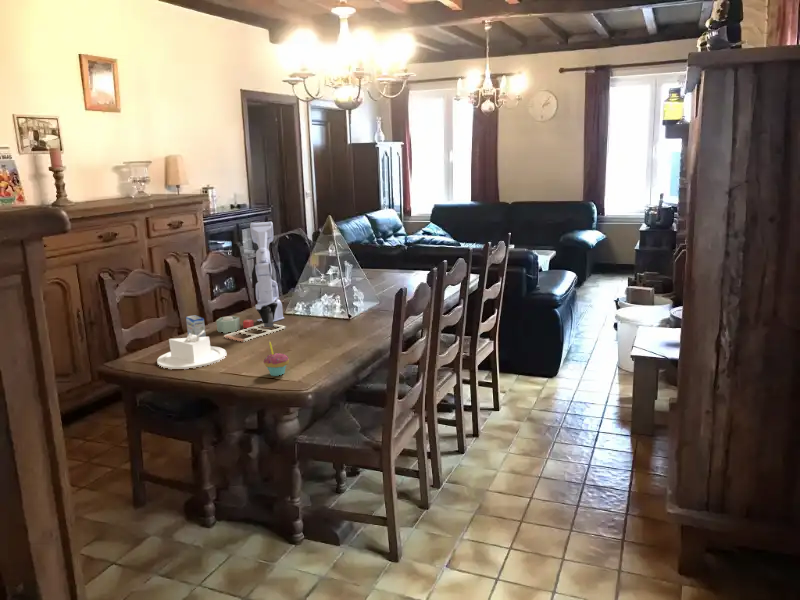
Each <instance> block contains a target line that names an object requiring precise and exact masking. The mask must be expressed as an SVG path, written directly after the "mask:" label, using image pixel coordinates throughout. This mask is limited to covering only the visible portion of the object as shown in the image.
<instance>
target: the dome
mask: <svg viewBox="0 0 800 600" xmlns="http://www.w3.org/2000/svg"><path fill="white" fill-rule="evenodd" d="M232 316H233V315H229V316H222V317H223V320H221V321H232V320H235V319H233V317H232Z"/></svg>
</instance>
